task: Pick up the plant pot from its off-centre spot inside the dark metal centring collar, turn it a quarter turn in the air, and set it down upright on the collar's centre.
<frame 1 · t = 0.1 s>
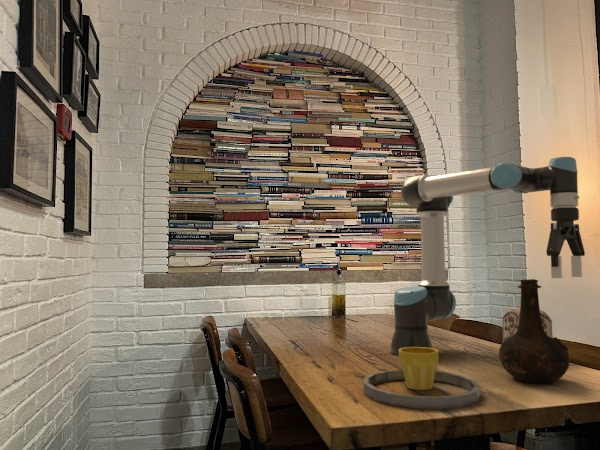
hand: (567, 277, 150), 28 cm above the table, fingers open, 13 cm apart
decorative jar: (527, 357, 170), on the table
plant pot: (419, 387, 131), resting in centring collar
glass bottle: (534, 380, 138), on the table
centring collar: (420, 392, 126), on the table
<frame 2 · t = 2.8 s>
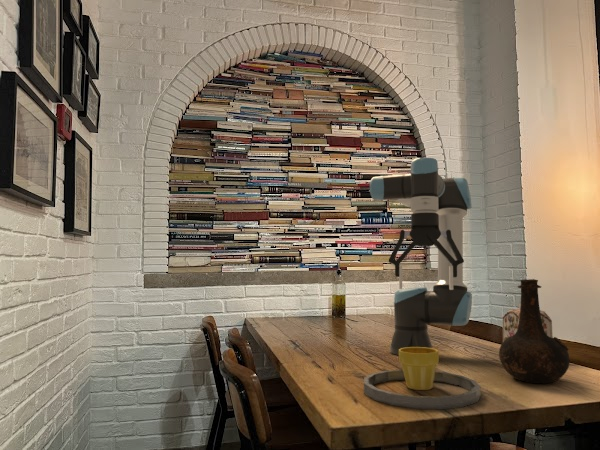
hand: (425, 289, 137), 25 cm above the table, fingers open, 13 cm apart
nothing on the table moved.
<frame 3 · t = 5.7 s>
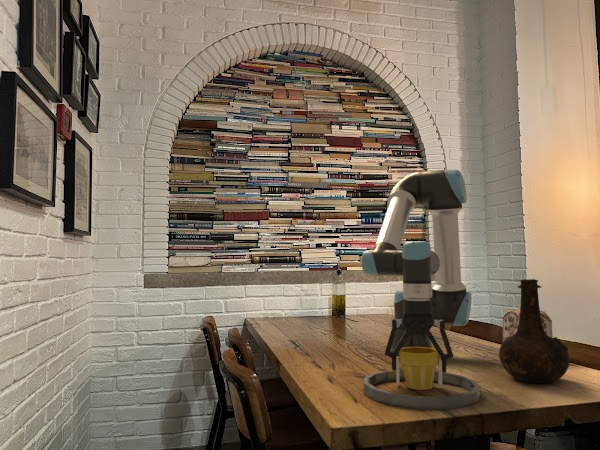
hand: (419, 383, 131), 1 cm above the table, fingers closed on plant pot, 10 cm apart
plant pot: (419, 387, 131), resting in centring collar, touching gripper
everything else where it was.
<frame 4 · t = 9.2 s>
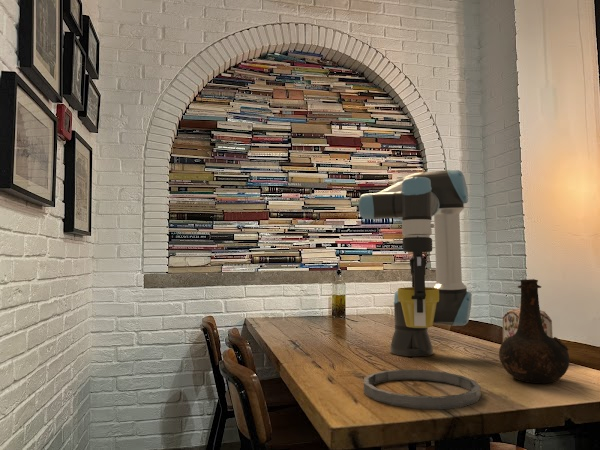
hand: (418, 323, 127), 17 cm above the table, fingers closed on plant pot, 10 cm apart
plant pot: (418, 327, 127), point 16 cm above the table, touching gripper
everything else where it was.
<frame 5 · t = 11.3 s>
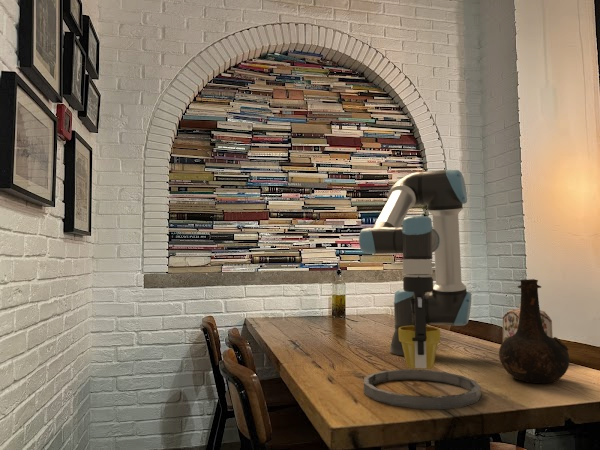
hand: (419, 363, 127), 7 cm above the table, fingers closed on plant pot, 10 cm apart
plant pot: (419, 367, 126), point 6 cm above the table, touching gripper
everything else where it was.
when the fingers open (2 cm above the table, at t = 13.2 s): plant pot drops 1 cm, resting in centring collar.
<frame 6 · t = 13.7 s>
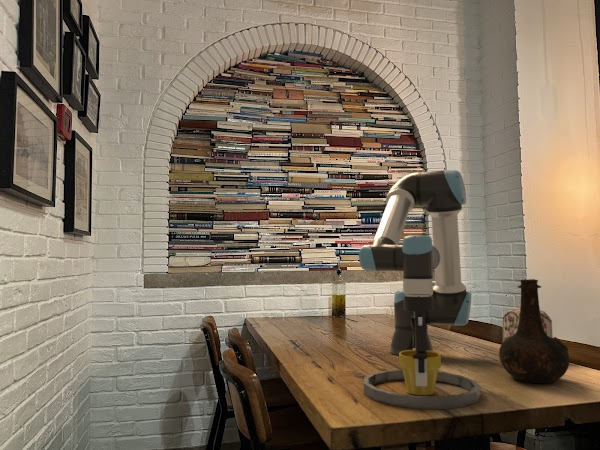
hand: (419, 379, 126), 3 cm above the table, fingers open, 13 cm apart
plant pot: (420, 393, 126), resting in centring collar
everything else where it was.
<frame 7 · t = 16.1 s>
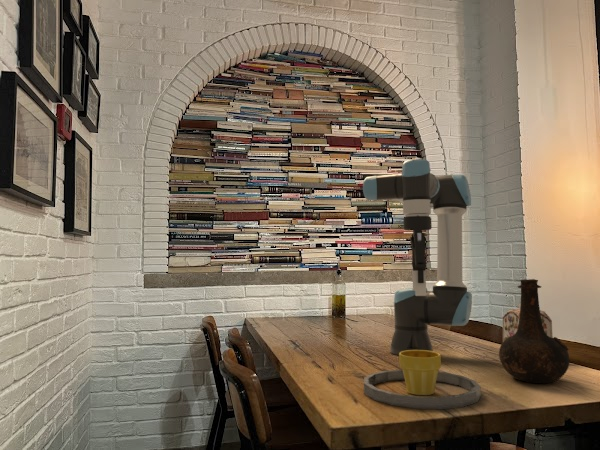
hand: (419, 293, 136), 24 cm above the table, fingers open, 13 cm apart
nothing on the table moved.
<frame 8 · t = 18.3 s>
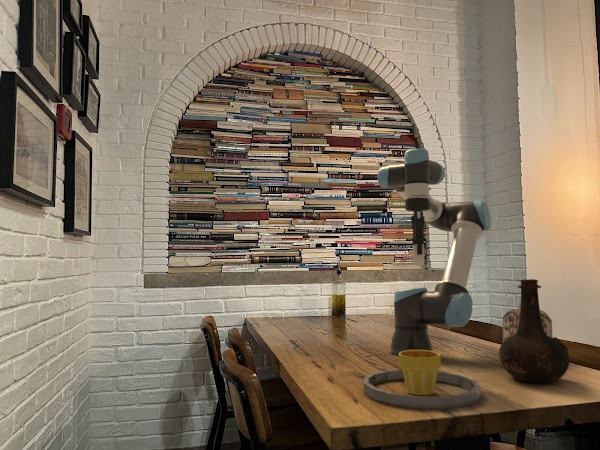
hand: (418, 265, 155), 32 cm above the table, fingers open, 13 cm apart
nothing on the table moved.
at the end: plant pot 0.1 cm from the centring collar (horizontally); plant pot tilted 0°; the gripper is holding nothing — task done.
